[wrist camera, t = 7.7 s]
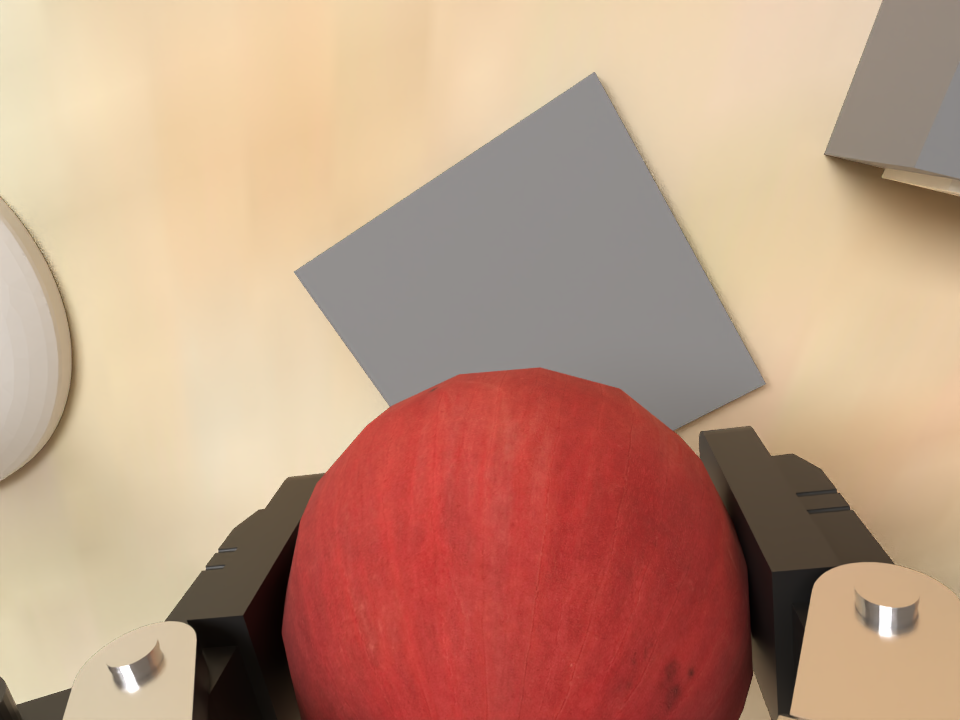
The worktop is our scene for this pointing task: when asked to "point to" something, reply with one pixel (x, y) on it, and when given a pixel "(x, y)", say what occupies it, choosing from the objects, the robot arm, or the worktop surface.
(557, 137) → the mat
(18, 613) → the worktop surface
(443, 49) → the worktop surface
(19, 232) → the candlestick
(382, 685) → the onion
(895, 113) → the marked cube
